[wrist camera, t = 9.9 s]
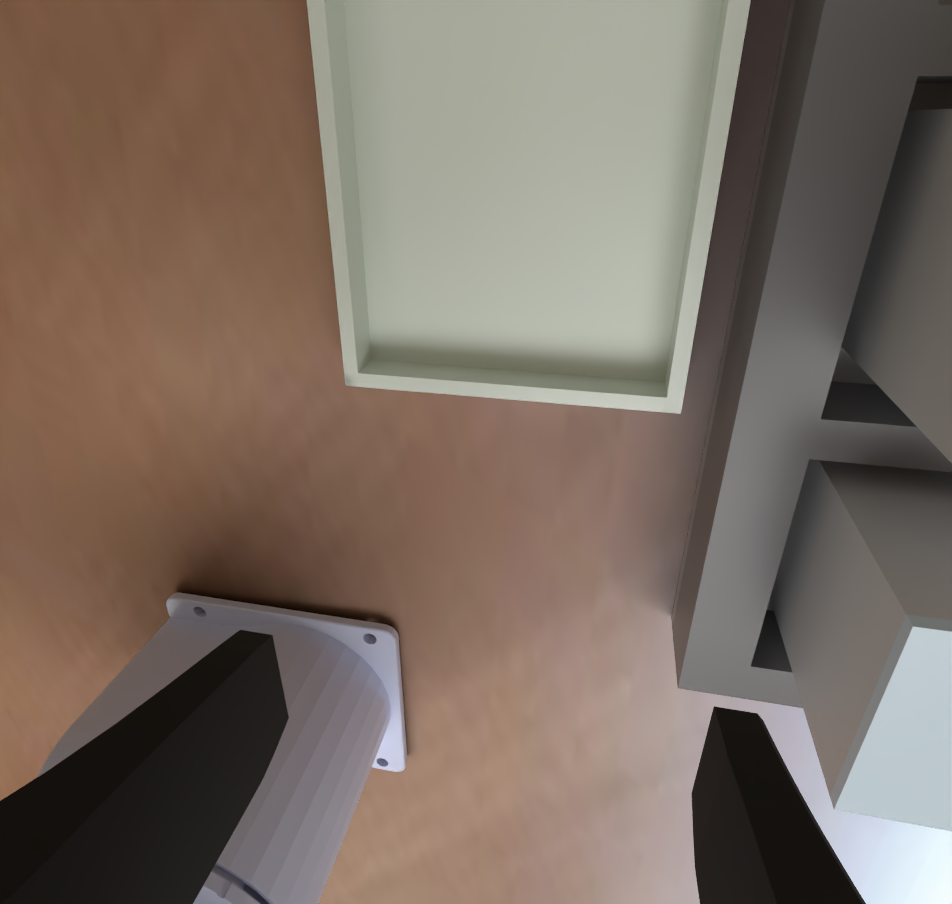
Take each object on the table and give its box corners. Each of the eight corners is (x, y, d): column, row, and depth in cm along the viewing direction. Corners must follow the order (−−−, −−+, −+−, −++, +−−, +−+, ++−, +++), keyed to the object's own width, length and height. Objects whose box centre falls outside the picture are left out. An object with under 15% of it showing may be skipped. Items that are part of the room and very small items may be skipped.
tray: (366, 366, 19) (345, 385, 18) (321, -172, 13) (285, -206, 12) (676, 390, 17) (680, 414, 16) (773, -210, 12) (793, -255, 10)
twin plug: (767, 590, 19) (833, 809, 13) (809, 442, 17) (912, 626, 11) (913, 609, 18) (1055, 850, 12) (977, 457, 16) (1193, 664, 10)
